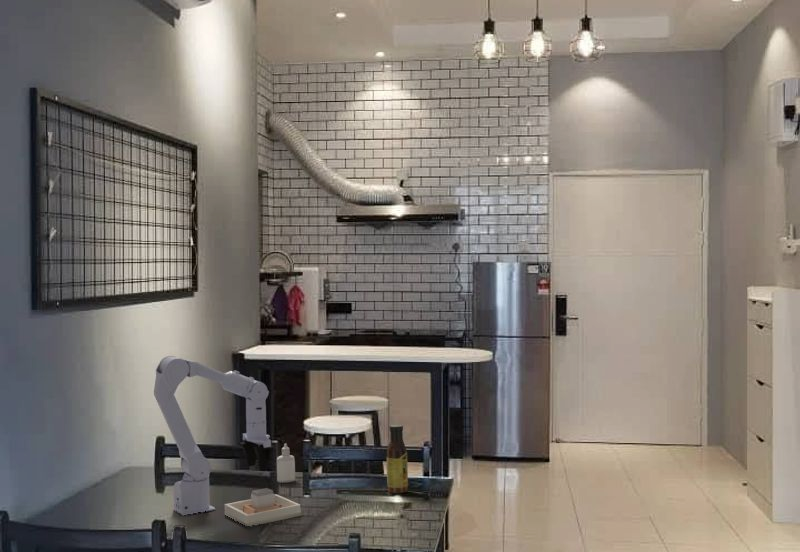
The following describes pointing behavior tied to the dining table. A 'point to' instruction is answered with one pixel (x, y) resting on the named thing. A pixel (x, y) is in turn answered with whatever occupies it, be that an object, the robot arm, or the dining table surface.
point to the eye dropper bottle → (285, 466)
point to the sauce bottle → (397, 461)
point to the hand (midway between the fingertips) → (257, 468)
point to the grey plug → (262, 498)
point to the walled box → (262, 511)
